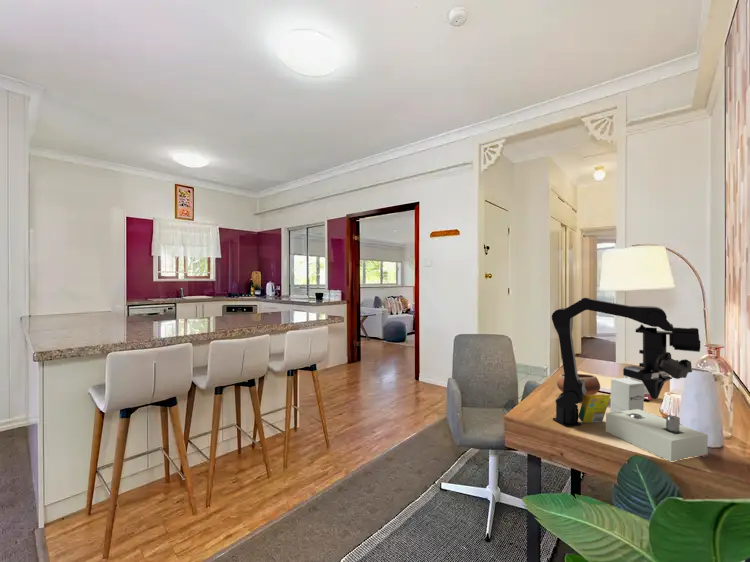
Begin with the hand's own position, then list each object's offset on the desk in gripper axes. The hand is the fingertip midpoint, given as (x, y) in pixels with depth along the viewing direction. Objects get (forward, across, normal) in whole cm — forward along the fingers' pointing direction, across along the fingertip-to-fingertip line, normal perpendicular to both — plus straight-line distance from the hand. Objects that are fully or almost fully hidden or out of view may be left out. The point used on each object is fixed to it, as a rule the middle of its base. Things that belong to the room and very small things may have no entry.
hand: (654, 398), depth 109 cm
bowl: (+13, +11, +39) cm, 42 cm away
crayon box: (+13, -5, +18) cm, 23 cm away
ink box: (+14, +35, +32) cm, 49 cm away
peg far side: (+10, -1, -5) cm, 11 cm away
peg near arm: (+13, 0, +6) cm, 14 cm away
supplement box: (+14, +13, +19) cm, 27 cm away
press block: (+14, 0, 0) cm, 14 cm away
